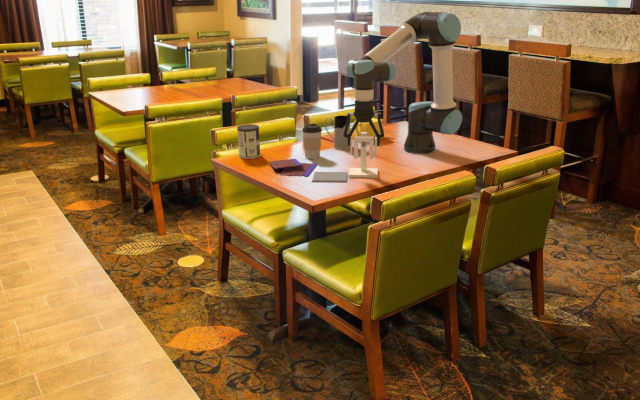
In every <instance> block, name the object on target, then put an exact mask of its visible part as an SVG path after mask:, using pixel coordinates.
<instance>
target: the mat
mask: <svg viewBox="0 0 640 400" xmlns="http://www.w3.org/2000/svg"><path fill="white" fill-rule="evenodd" d="M347 178H348V172H347V171H314V173H313V177H312V183H347Z"/></svg>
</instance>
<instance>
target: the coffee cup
mask: <svg viewBox="0 0 640 400" xmlns="http://www.w3.org/2000/svg"><path fill="white" fill-rule="evenodd" d="M301 129H302V130H301V132H302V140H303V141H302V142H303V149H304V157H305V158H306V159H312V160H313V158H315V159H319V158H320V157H321V148H322V147H321V146H322V131H323V130H322V127H320V125H318V124H316V123H310V124H306V125H304V127H302V128H301ZM318 157H319V158H318Z"/></svg>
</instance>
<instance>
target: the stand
mask: <svg viewBox="0 0 640 400" xmlns="http://www.w3.org/2000/svg"><path fill="white" fill-rule="evenodd" d="M361 136H367V132H361ZM367 144H368V142H360V167H349V171H348V178H351V179H353V178H354V179H356V178H361V179H364V178H365V179H368V178H369V179H378V177H379V173H378V172H379V171H378V167H367Z"/></svg>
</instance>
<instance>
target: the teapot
mask: <svg viewBox="0 0 640 400" xmlns="http://www.w3.org/2000/svg"><path fill="white" fill-rule="evenodd" d="M371 120H372V122H373V124H374V125H375V127H376V129H377V131H378V133H379V134H381V132H380V128H379V124H378V119H377V118H376V117H373V118H372V119H371ZM355 121H356V119H355V120H354V121H353V124H354V123H355ZM384 121H385V120H384V119H383V118H381V123H382V127H383V131H384V132H385V129H384V127H385V126H384ZM361 132H367V136H374V142H375V137H376V135H375V133H374V131H373V129H372V127H371V125H370V124H369V122H368V123H365V122H363V123H360V122H359V123H358V125H357V127H356V129H355V130H354V132H353V134H352V140H354V136H361ZM383 139H384V137H381V138H380V141H381V140H383Z"/></svg>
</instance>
